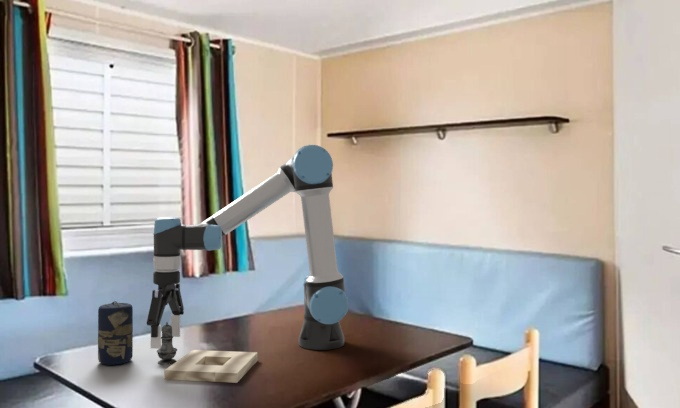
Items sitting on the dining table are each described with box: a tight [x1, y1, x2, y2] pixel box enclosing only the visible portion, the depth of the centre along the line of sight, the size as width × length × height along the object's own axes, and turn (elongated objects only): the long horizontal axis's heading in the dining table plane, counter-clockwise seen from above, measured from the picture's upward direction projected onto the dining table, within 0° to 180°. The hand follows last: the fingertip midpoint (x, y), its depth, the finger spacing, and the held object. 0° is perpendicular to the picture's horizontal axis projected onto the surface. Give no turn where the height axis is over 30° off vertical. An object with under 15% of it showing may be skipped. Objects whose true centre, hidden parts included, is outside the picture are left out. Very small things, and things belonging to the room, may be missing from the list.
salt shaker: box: [156, 321, 178, 366], centre depth 168 cm, size 6×6×12 cm
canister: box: [97, 300, 134, 366], centre depth 168 cm, size 10×10×18 cm
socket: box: [164, 349, 258, 384], centre depth 161 cm, size 20×20×2 cm
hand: (165, 342), depth 168 cm, fingers open, 13 cm apart
